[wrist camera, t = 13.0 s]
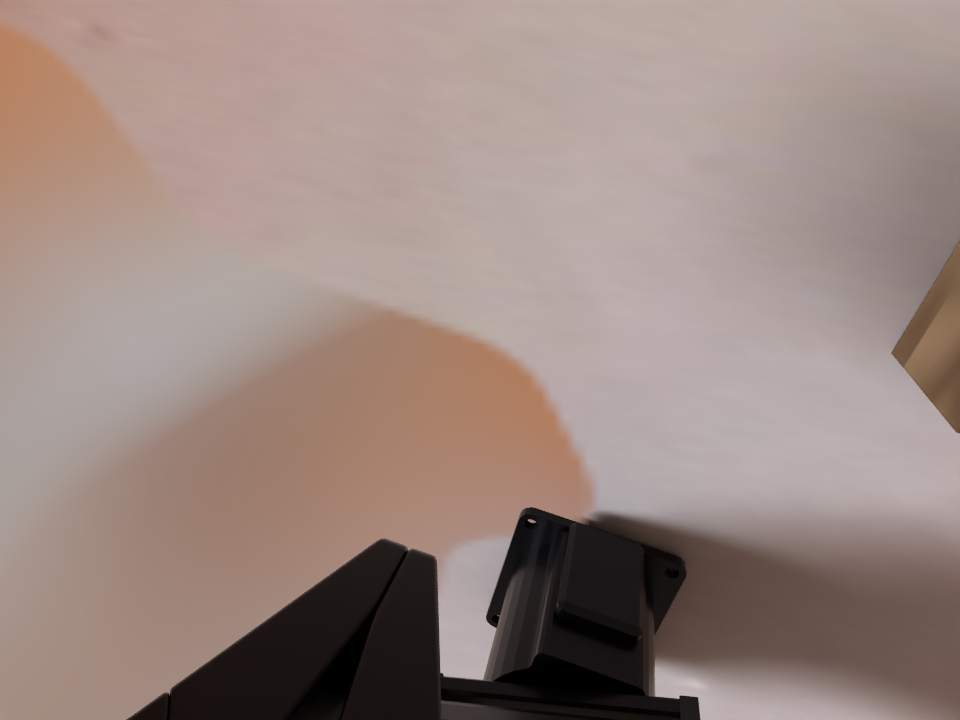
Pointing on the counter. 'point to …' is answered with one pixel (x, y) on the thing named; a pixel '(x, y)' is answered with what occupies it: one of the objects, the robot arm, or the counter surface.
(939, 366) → the walnut rack
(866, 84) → the counter surface
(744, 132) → the counter surface
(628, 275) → the counter surface
